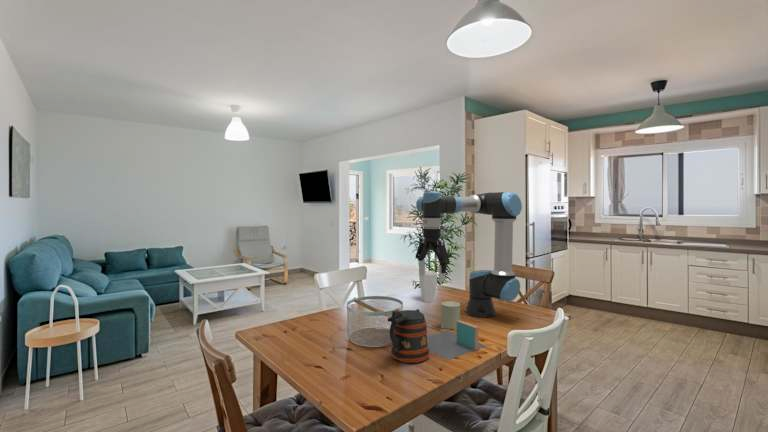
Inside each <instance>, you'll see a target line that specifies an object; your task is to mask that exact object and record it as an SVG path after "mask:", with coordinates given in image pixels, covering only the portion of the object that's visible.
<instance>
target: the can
mask: <svg viewBox="0 0 768 432" xmlns="http://www.w3.org/2000/svg"><path fill="white" fill-rule="evenodd" d="M458 320H461V303H460V302H457V301H453V300H452V301H451V300H446V301H442V302H440V328H441V329H442V330H443V329H448V330H449V329H450V330H451V329H452V330H453V329H454V330H455V329H456V330H457V321H458Z"/></svg>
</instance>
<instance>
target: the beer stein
mask: <svg viewBox="0 0 768 432" xmlns="http://www.w3.org/2000/svg"><path fill="white" fill-rule="evenodd" d="M391 312H392V313H391V317H388V318H387V322H390V325H389V326H390V327H389V337H390V341H391V350H390V351H391V352H390V356H391V357H392V359H394V360H396V361H398V362H401V363H404V364H405V363H406V364H418V363H422V362H425V361H426V360H428V359H429V355H430V353H429V352H430V351H429V348H428V343H427V336H428V334H427V333H428V328H427V320H426V318H425V314H424V313H423V312H421V311H420V309H419V308H417V309H416V310H414V309H413V310H412V309H406V310H405V309H404V310H400V311H399V310H392V311H391Z"/></svg>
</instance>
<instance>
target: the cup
mask: <svg viewBox="0 0 768 432" xmlns="http://www.w3.org/2000/svg"><path fill="white" fill-rule="evenodd" d="M418 276H419V277H418V278H419V286H420V294H421V297H420V298H421V301H422V302H424V303H433V302H435V295H436V288H437V280H438V279H437V278H438V272H435V271H430V270H425V275H419V274H418Z"/></svg>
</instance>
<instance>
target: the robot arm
mask: <svg viewBox="0 0 768 432" xmlns="http://www.w3.org/2000/svg"><path fill="white" fill-rule="evenodd" d="M415 205H416V206H415V207H416V210H417V211H418V212H419V213H422V217H423V218H422V227H423V228H422V237H421V238H419V244H418V246H417V251H416V254H415V259H417V260H418V276H419V275H425V271H426V259H425V258H426V256H427V255H428V253H429V251H432V252H433V253H435V256H436V258H437V260H438V262H439V265H438V282H444V281H446V273H447V266H448V265H450V264H451V261H450V258H449V254H448V252H447V249H446V243H445V240H440V238H441V236H442V234H441V233H442V229H441V227H442V214H453V215H454V214H458V213H460V212H461V213H463V212H465V213H466V212H469V213H471V214H479V215H480V214H481V215H488V216H491V219H492V221H493V222H494V253H493V254H494V255H493V256H494V258H493V259H494V261H493V265H494V266H493V267H494V269H493V270H491V269H490V270H489V269H481V270H479V269H478V270H474V271H473V270H472V271H470V273H469V278H468V279H469V299H468V301H467V305H466V308H465V313H466V314H467V315H469V316H471V317H475V318H484V319H486V318H492V317H494V316H496V308H495V306H494V302H493V299H498V300H501V301H505V302H512V301H514V300H515V299H516V298H517V297H518V295H519V293H520V290H521V283H520V281H519V279H518V278H516V273H515V272H514V271H513V241H514V238H513V237H514V233H513V232H514V231H513V230H514V222H515V221H516V220H517V216H519V215H520V214H521V212H522V209H523V206H522V205H523V204H522V201H521V198H520V197H519V195H518V194H517V193H515V192H511V191H510V192H509V191H502V192H485V193H484V192H483V193H479V194H477V193H476V194H471V195H468V196H455V195H454V196H453V195H452V196H451V195H449V196H446V195H445V196H443V195H442V192H441V191H435V190H434V191H424V192H423V194H422V197H419V198H418V199H417V200H416V203H415Z"/></svg>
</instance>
